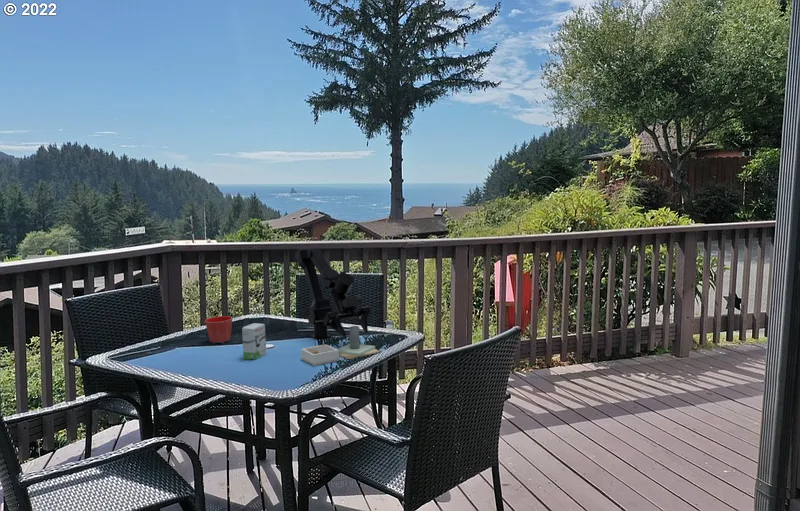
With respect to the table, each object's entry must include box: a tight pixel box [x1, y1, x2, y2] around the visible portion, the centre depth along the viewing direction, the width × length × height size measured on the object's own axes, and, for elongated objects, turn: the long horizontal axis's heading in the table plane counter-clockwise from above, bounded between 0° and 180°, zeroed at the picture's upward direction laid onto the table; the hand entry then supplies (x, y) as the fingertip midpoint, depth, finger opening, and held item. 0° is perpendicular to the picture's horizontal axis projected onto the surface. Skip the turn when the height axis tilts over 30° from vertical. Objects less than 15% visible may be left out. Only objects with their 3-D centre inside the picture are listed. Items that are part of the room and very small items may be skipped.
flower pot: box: [204, 315, 233, 342], centre depth 241 cm, size 11×11×10 cm
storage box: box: [300, 344, 340, 367], centre depth 212 cm, size 10×10×4 cm
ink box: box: [241, 322, 267, 361], centre depth 219 cm, size 9×5×12 cm, turn 162°
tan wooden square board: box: [336, 343, 382, 360], centre depth 221 cm, size 14×14×1 cm
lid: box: [336, 325, 376, 356], centre depth 221 cm, size 11×11×9 cm
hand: (356, 334), depth 219 cm, fingers open, 9 cm apart
